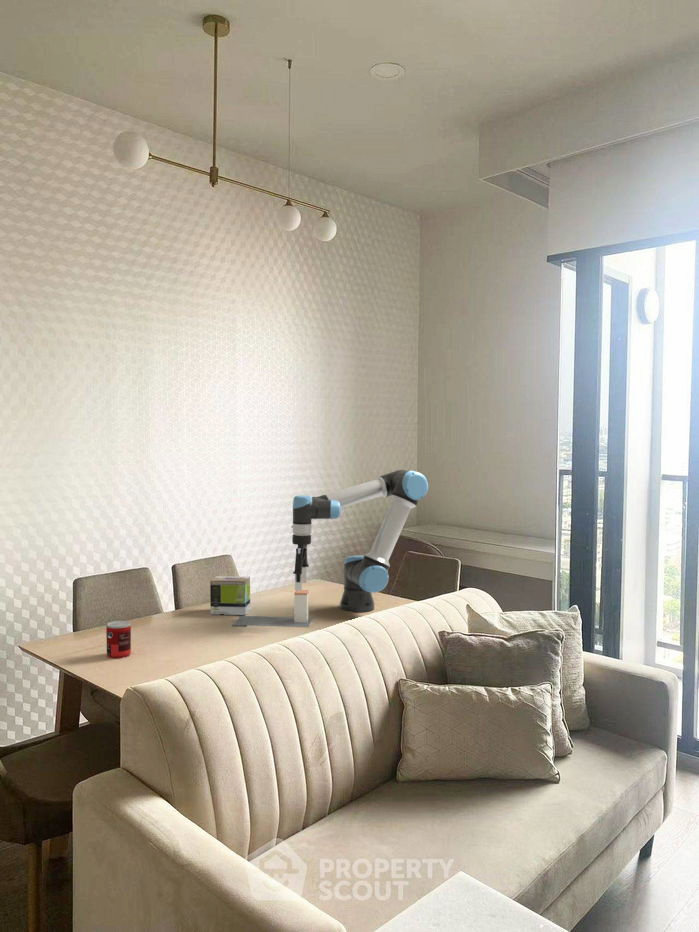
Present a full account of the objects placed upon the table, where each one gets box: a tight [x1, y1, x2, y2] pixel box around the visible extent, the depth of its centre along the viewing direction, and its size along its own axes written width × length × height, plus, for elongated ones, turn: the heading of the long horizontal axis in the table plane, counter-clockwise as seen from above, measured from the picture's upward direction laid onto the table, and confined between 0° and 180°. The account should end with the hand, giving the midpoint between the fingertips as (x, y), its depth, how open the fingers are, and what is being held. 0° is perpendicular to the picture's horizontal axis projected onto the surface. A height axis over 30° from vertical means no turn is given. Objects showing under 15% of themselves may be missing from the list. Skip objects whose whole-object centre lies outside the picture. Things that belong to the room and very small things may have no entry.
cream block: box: [293, 589, 310, 623], centre depth 290 cm, size 5×5×12 cm
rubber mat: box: [232, 615, 314, 628], centre depth 289 cm, size 30×14×1 cm, turn 86°
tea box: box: [209, 575, 251, 616], centre depth 304 cm, size 15×10×15 cm
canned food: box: [105, 620, 132, 659], centre depth 245 cm, size 8×8×11 cm
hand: (300, 586), depth 290 cm, fingers open, 13 cm apart
